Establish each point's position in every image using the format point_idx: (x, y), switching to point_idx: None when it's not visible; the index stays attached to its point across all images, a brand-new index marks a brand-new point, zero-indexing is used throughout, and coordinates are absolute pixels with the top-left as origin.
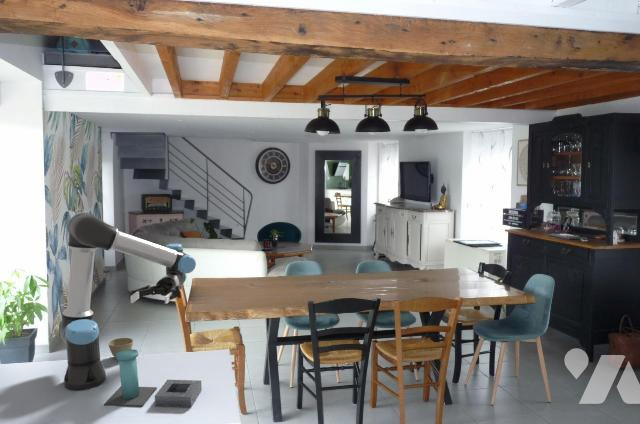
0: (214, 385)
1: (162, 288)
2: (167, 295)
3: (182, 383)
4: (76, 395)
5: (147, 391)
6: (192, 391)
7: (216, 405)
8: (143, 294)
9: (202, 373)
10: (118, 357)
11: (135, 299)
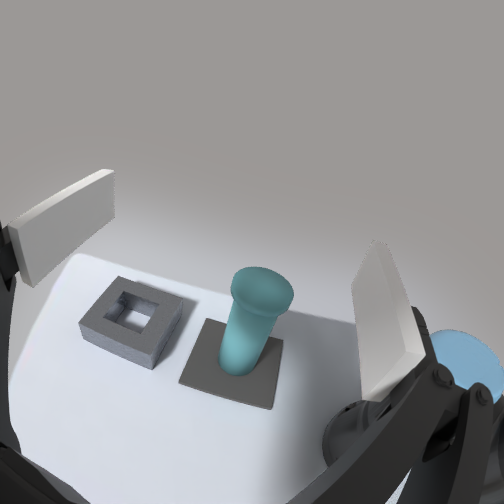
0: (53, 348)
1: (16, 478)
2: (84, 182)
3: (119, 325)
4: (353, 388)
5: (199, 367)
6: (109, 290)
7: (80, 284)
8: (352, 450)
9: (57, 420)
10: (280, 275)
11: (362, 314)
